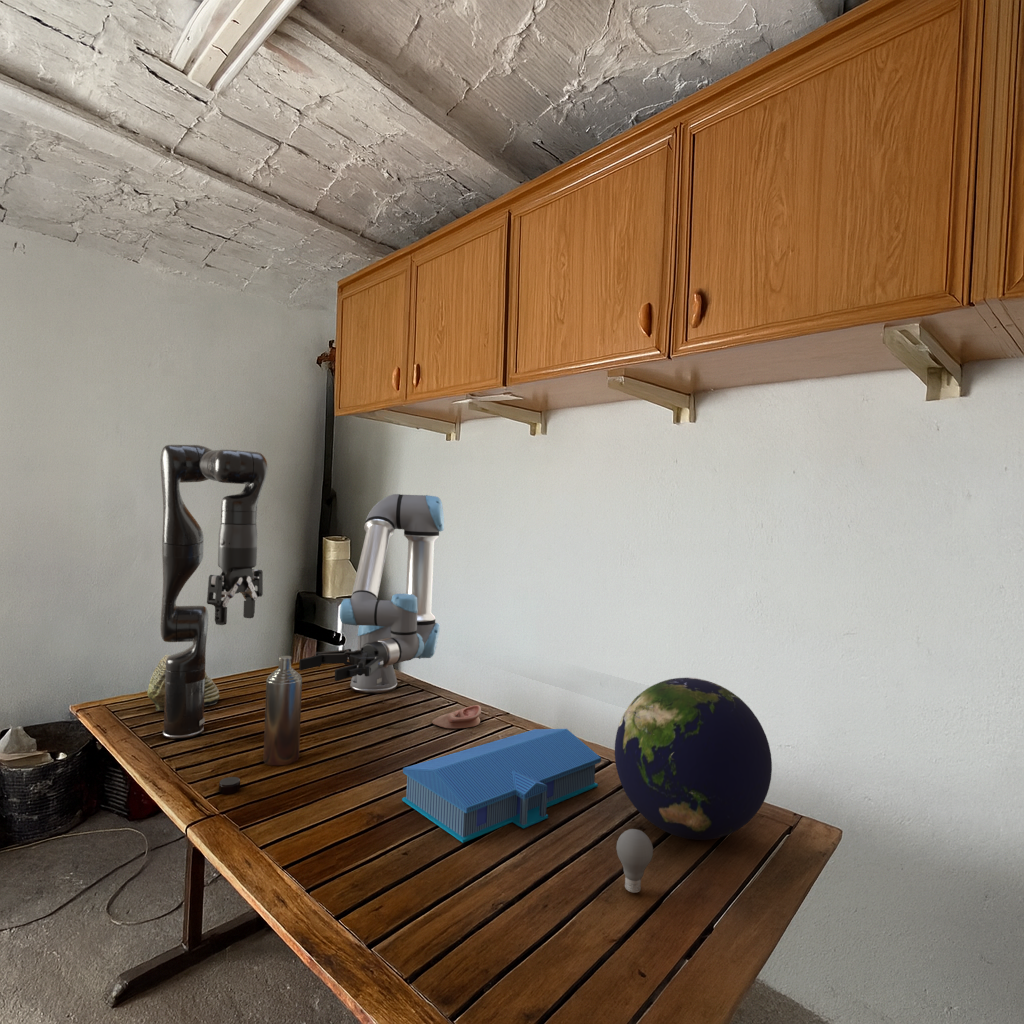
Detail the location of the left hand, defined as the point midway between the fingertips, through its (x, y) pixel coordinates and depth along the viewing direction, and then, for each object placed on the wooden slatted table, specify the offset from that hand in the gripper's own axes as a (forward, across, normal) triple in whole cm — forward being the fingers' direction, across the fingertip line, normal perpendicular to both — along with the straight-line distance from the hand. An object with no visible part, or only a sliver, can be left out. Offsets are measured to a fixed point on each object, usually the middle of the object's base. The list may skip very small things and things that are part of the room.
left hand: (235, 621), depth 134 cm
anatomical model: (+36, +57, -30) cm, 74 cm away
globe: (+36, +17, -94) cm, 102 cm away
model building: (+36, +19, -57) cm, 70 cm away
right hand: (+17, +27, -3) cm, 32 cm away
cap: (+34, 0, 0) cm, 34 cm away
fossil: (+36, +39, +48) cm, 71 cm away
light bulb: (+36, -7, -86) cm, 93 cm away
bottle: (+36, +18, 0) cm, 40 cm away
